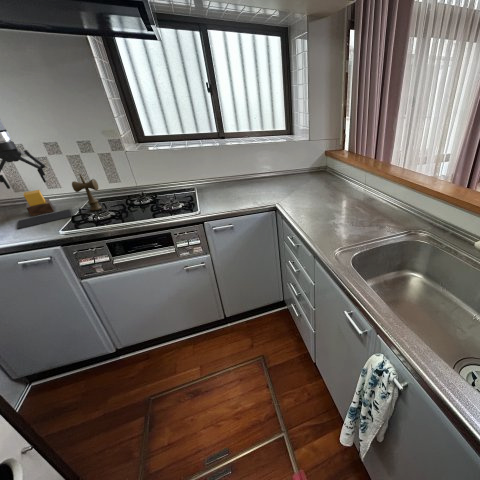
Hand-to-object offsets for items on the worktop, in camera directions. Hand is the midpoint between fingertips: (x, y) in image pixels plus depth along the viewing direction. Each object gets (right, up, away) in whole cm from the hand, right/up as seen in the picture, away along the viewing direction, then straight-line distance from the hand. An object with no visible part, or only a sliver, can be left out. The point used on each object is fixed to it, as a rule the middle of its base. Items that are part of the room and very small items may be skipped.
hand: (27, 185), depth 137 cm
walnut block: (0, -13, +8) cm, 15 cm away
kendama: (+28, -12, +9) cm, 32 cm away
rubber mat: (+10, -18, -1) cm, 20 cm away
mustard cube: (0, -9, +5) cm, 10 cm away
